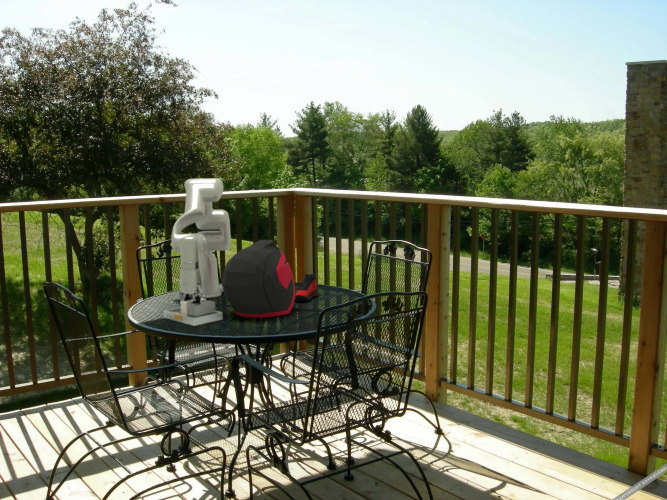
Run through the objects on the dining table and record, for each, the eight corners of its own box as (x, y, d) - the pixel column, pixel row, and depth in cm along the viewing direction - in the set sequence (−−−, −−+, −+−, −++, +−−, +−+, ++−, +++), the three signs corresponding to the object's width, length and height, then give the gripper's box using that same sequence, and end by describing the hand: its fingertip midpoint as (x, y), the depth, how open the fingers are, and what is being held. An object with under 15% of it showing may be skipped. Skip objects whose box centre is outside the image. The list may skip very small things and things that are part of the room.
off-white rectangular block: (181, 318, 268) (180, 301, 267) (201, 313, 275) (200, 297, 274) (186, 319, 265) (186, 303, 264) (206, 315, 273) (206, 298, 272)
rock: (198, 305, 294) (196, 283, 293) (187, 307, 290) (186, 285, 289) (184, 302, 301) (183, 281, 300) (174, 305, 297) (173, 282, 296)
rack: (163, 317, 272) (162, 300, 271) (191, 311, 282) (190, 294, 281) (193, 326, 257) (193, 307, 256) (222, 319, 268) (221, 301, 267)
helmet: (311, 287, 288) (292, 230, 273) (275, 333, 266) (252, 274, 251) (263, 282, 302) (243, 228, 287) (225, 326, 280) (201, 269, 265)
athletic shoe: (289, 303, 297) (289, 277, 296) (306, 294, 316) (305, 270, 315) (305, 304, 295) (304, 278, 293) (321, 295, 314) (320, 270, 312)
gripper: (170, 265, 270) (172, 307, 272) (195, 269, 258) (197, 313, 261) (185, 262, 275) (188, 304, 278) (210, 266, 264) (212, 310, 266)
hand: (192, 308), depth 269 cm, fingers open, 5 cm apart
